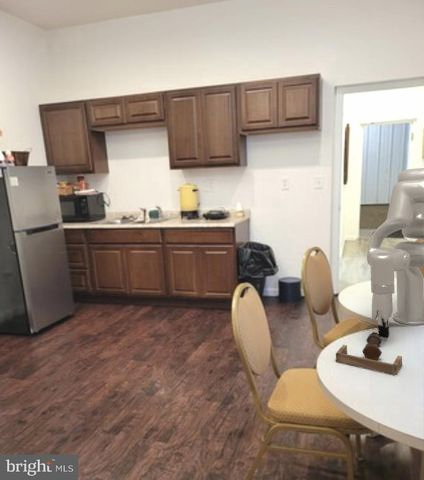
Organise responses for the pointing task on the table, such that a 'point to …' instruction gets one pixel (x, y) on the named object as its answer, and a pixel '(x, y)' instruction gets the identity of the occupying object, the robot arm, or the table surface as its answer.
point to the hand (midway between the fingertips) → (383, 336)
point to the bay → (368, 362)
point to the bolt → (372, 347)
